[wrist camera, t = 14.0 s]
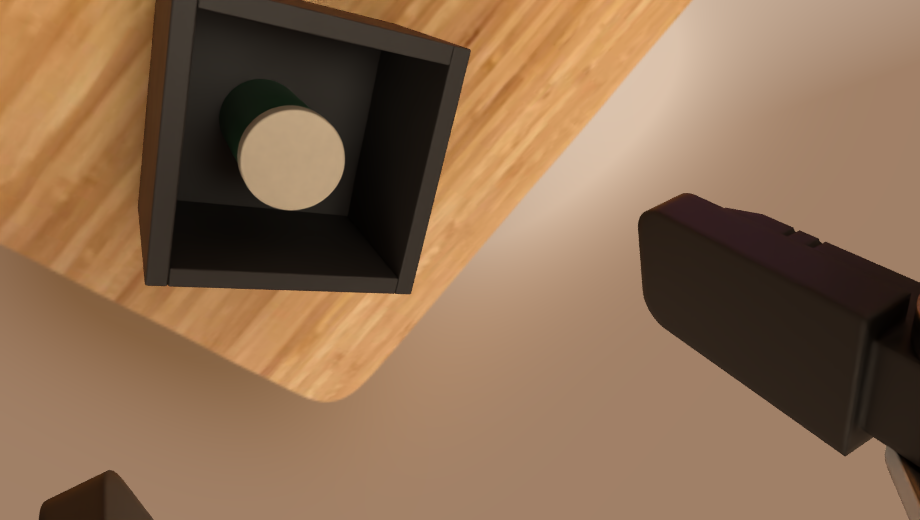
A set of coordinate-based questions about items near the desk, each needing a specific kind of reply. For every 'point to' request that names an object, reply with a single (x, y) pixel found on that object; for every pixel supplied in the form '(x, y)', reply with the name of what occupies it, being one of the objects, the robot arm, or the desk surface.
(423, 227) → the bin
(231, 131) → the tube
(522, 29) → the desk surface
